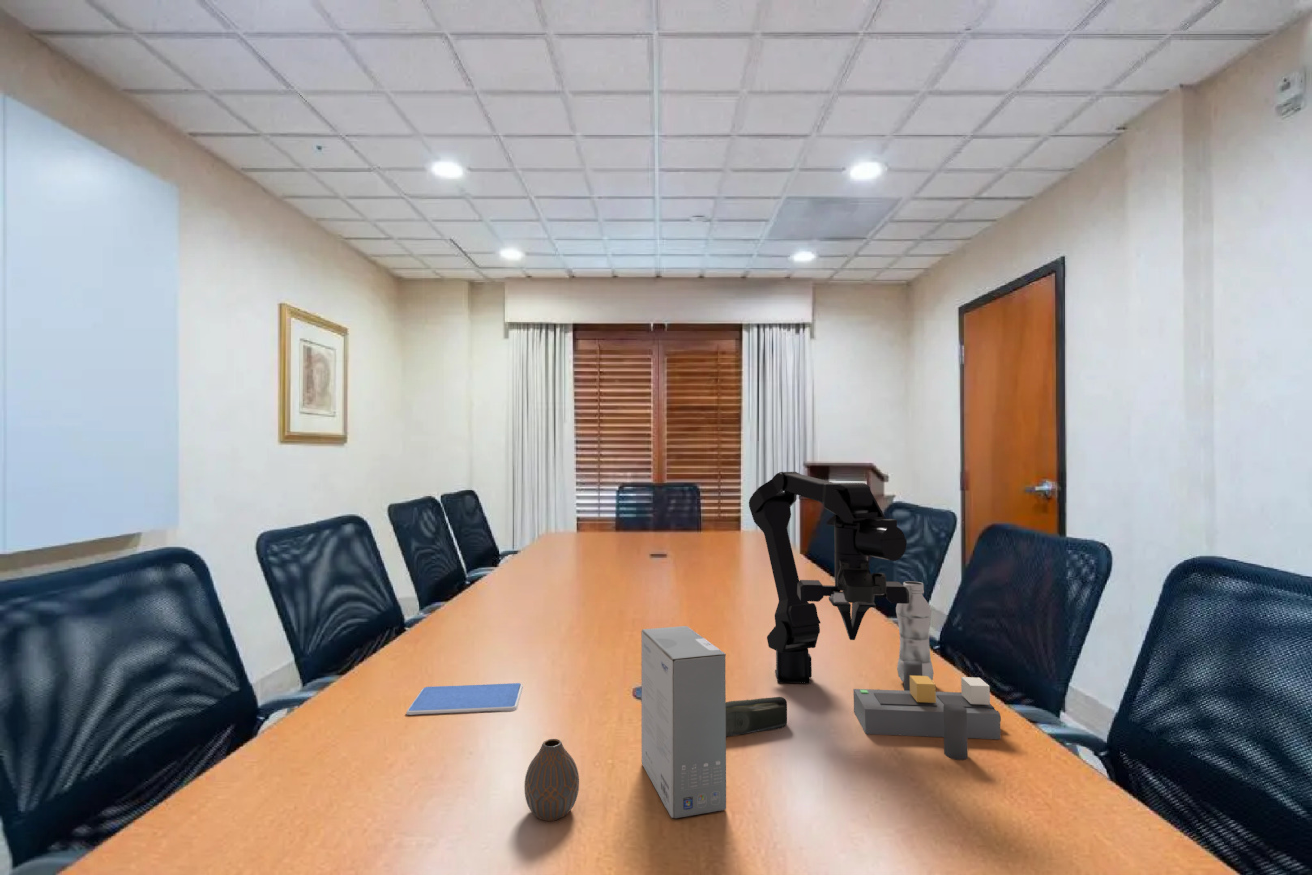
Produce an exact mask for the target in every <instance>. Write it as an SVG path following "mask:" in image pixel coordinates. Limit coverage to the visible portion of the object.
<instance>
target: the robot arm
mask: <svg viewBox="0 0 1312 875" xmlns="http://www.w3.org/2000/svg"><path fill="white" fill-rule="evenodd" d="M797 496H800V497H803V498H806V499H809V500H812V501H815V502H819V503H820V504H822V506H823V508H824V509H825V510H827V511H829V512H830V513H832V514H833V515H832V516H831V517H830V518H829V519H828V520H826V525H827V526H832V527H834V585H826V584H822V582H821V580H818V579H815V580H814V579H800V578H799V575H798V569H797V565H796V561H795V557H794V553H793V548H792V544H791V540H790V535H789V530H788V526H789V524H790V520H791V518H792V510H791V507H792V506H793V505H794V503H795V502H796V501H797ZM748 506H749V511H750V513H751V516H752V520H753V522H754V524H756V526H757V527H758V528H759V529H760V530H761V532H763V535H764V541H765V544H766V548H767V553H768V557H769V561H770V562H769V563H770V566H771V570H772V575H773V580H774V583H775V588H776V593H777V598H778V603H777V606H776V609H775V612H774V621H775V622H774V623H775V626H774V627H773V628H772V629H771V631H770V632H769V633H768V634H767V635H766V640H767V645H768V648H770V649H772V650H774V651H775V669H774V673H775V677H776V680H777V681H776V682H777V683H780V684H781V683H784V684H811V678H812V672H813V670H812V656H811V654H810V653H809V649H815V648H816V646H817V644H818V639H819V635H820V633H821V627H820V624H821V620H820V618H819V616H818V608H817V605H816V603H815V602H820V601H821V600H822V599H823V598H824V597H828V601H829V602H830V604H831V605H832V606H833V607H836V608H837V609H838V612H839V613H840V616H841V618H842V621H843V624H844V627H845V630H846V633H847V637H848V639H849V640H850V641H855V640H856V638H857V635H858V632H859V629H860V626H861V624H862V621H863V619H864V616H865V615H866V613H867V612H868V611H869V609H871V608H875V607H876V603H875V598H886V599H887V601H889V602H890V603H891V604H897V603H900V604H908V603H909V591H908V589H907V588H906V587H905V586H903V583H901V582H899V581H887V576H886V574H885V573H884V572H872V573H871V571H870V564H869V559H868V558H869V557H873V558H876V559H882V560H887V561H891V562H896V561H899V560H900V559H901V558H902V557H903V556H904V555H905V553H906V550H907V538H906V535H905V533H904V531H902V529H901V528H899V527H898V521H897V519H894V518H889V519H887V518H886V516H885V514H884V512H883V510H882V509H881V508H880V505H879V503H878V501H877V500H876V498H875V496H874V494H873V493H872V490H871V487H870V486H869V485H868V484H867V483H865V482H832V481H829V480H824V479H822V478H821V479H820V478H816V477H812V476H809V475H805V474H803V473H802V474H801V473H799V472H797V471H779V472H778V473H775V475H773V477H772V478H771V479H770V480H769V481H767V482H765V483H764V484H762V485H760V486H758V488H757V489H756V490H755V491H754V492H753V493H752V495H751V496H750V497H749V500H748Z"/></svg>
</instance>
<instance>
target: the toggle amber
mask: <svg viewBox="0 0 1312 875" xmlns="http://www.w3.org/2000/svg"><path fill="white" fill-rule="evenodd" d="M936 690H937V688H936V683H935V681H933V680H931V679H930V678H929V677H928V676H911V675H910V694H911V695H912V696H913V698H914V699H915V700H916V701H917V702H929V703H936V692H937V691H936Z"/></svg>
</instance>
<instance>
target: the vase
mask: <svg viewBox="0 0 1312 875" xmlns="http://www.w3.org/2000/svg"><path fill="white" fill-rule="evenodd" d="M523 788H524V797H525V798H524V799H525V801H526V804H527V806H528V807H527V808H528V809H529V811H530V812H531V813H532V814H533V815H534V816H535V817H536V818H538V819H539V820H541V821H546V822H549V821H550V822H551V821H552V822H553V821H557V820H560V819H562V818H564V817H566V815H568V813H569V812H571V810H572V809H573V807H574V806H575V803H576V801H577V798H578V794H579V790H580V776H579V771H578V767H577V764H576V762H575V760H574V759H573V757H572V756H571V755H570V753H569V752H568V750H567V749H565V747H564V745H563V742H562V741H561V740H560V739H558V738H549V739H546V740H545V741H543V742H542V744H541V746H540V749H539V751H538V752H537V753H536V754H535V755H534V757H533V759H532V760H531V761H530V762H529V766H528V767H527V771H526V774H525V778H524V787H523Z"/></svg>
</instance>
